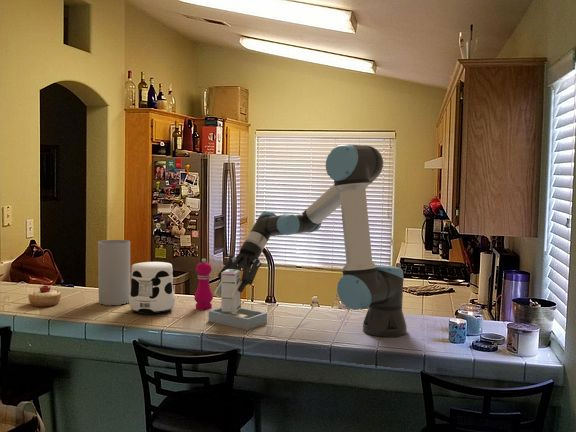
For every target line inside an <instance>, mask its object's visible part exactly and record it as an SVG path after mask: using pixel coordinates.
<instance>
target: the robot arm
mask: <svg viewBox="0 0 576 432" xmlns="http://www.w3.org/2000/svg"><path fill="white" fill-rule="evenodd" d="M326 157H327V158H326V160H325V171H326V173H327V176H329V178H330V179H332V180H333V184H332V186H330V187H329V188H328V189H327V190H325V192H323V193H322V194H321V195H320V196H319V197H318V198H317V199H315V200H314V202H313V203H312V204H311V205H309V206H308V207H307V208H306V209H305V210H304V211H302V212H301V213H284V214H279V215H277V214H275V213H274V212H273V211H269V210H264V211H262V212H261V214H259V216H258V217H257V219H256V221H255V222H254V225H253V226H252V228H251V230H250V232H249V234H248V235H247V237H246V238H245V240H244V242H243V244H242V245H241V247H240V248H239V249H240V250H239V254H237V255H236V256H233V255H230V256H229V258H228V260H227V262H225V264H224V266H223V267H222V268H221V270H220V271H219V273H218V275H217V277H218V278H219V281H218V283H217V285H216V289H215V290H214V292H213V294H214V295H215V296H216V298H220V297H221V273H222V272H223V271H225V270H226V269H235V270H241V269H243V271H242V274H241V275H242V277H241V282H240V281H239V282H238V284H237V286H236V288H235V289H234V291H233V293H232V295H231V297H232V299H233V300H234V301H236V300H237V298H238V296H239V294H240V292H241V293H243V291H244V289H245V287H246V286H248V285H249V286H251V285H253V283H254V280H255V278H256V275H257V273H258V271H259V269H260V267H261V266H262V262H261V260H260V259H259V258H260V256H261V254H262V252H263V250H264V248H265V246H266V245H267V243H268V241H269V240H270V238H271V237H276V236H289V235H290V236H291V235H296V234H306V233H308V234H309V233H314V232H317V231H319V229H320V228H321V226H322V222H323V221H325V220H326V218H328V217H329V216H330V215H331V214H332V213H334V212H335V211H336V210H337V209H339V207H340V208H341V209H340V210H341V218H342V219H341V221H342V231H343V233H342V234H343V241H344V252H345V253H344V254H345V265H344V266H343V267H342V269H341V271H342V277H341V278H339V281H338V282H337V284H336V291H337V296H338V298H339V300H340V301H341V303H342V304H343V305H344V306H345V307H346V308H348V309H349V310H352V311H358V310H366V309H367V311H366V314H365V317H364V320H363V322H362V331H363V332H364V333H365V334H368V335H372V336H376V337H381V338H382V337H383V338H394V337H395V338H396V337H402V336H405V335H406V334H407V332H408V331H407V329H408V327H407V322H406V319H405V315H404V312H403V297H404V296H403V294H404V280H405V278H404V270H403V269H402V268H400V267H397V266H393V265H385V264H376V263H374V262H373V255H372V243H371V235H370V234H371V233H370V223H369V213H368V203H367V192H366V191H367V188H368V186H369V185H371V184H372V183H373V182H374V181H375V180H377V178H378V177H379V176H380V174H381V173H382V171H383V169H384V158H383V155H382V154H381V152H380V151H379V150H378V149H377V148H375V147H374V146H371V145H360V144H359V145H358V144H351V143H350V144H340V145H336V146H335V147H333V148H332V149H331V150H330V152H329V153H328V155H327V156H326Z"/></svg>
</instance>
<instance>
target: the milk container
mask: <svg viewBox="0 0 576 432" xmlns="http://www.w3.org/2000/svg"><path fill="white" fill-rule="evenodd" d="M173 272H174V271H173V264H172V263H170V262H165V261H145V262H143V261H142V262H138V263H137V262H136V263H134V264H132V265H131V269H130V284H131V285H130V288H131V292H130V296H129V303H128V305H129V308H130V309H131V310H132V311H133V312H136V313H139V314H145V315H146V314H148V315H149V314H150V315H151V314H153V315H154V314H162V313H165V312H168V311H170V310H172V309H173V308H174V306H175V304H176V303H175V302H176V295H175V292H174V291H175V290H174V285H173V279H174V275H173Z"/></svg>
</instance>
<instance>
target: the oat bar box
mask: <svg viewBox="0 0 576 432" xmlns="http://www.w3.org/2000/svg"><path fill="white" fill-rule="evenodd" d="M229 315H234V316H239V317H243V318H248V315H243V314H238V313H233V312H232V313H229Z"/></svg>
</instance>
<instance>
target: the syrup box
mask: <svg viewBox="0 0 576 432" xmlns="http://www.w3.org/2000/svg"><path fill="white" fill-rule="evenodd" d="M241 275H242V273H241V269H239V270H235V269H226V270H225V271H223V272H222V273H221V295H220V297H221V301H220V302H221V303H220V304H221V305H220V306H221V307H222V311H224V312H237V311H238V310H239V309H241V308H242V292H240V294H239V296H238V298H237V300H236V301H234V300H233V299H232V297H231V295H232V293H233V291H234V289H235V288H236V286H237V284H238V282H239V281H240V282H241V283H242V281H241V279H242V277H241ZM221 307H220V308H221Z"/></svg>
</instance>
